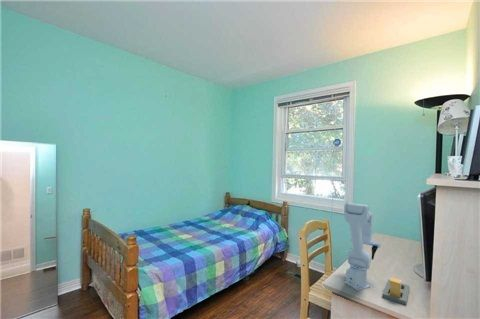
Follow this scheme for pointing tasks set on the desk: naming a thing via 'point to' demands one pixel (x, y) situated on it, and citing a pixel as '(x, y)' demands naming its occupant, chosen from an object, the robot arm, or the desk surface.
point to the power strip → (400, 300)
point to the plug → (395, 287)
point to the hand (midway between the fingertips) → (364, 257)
